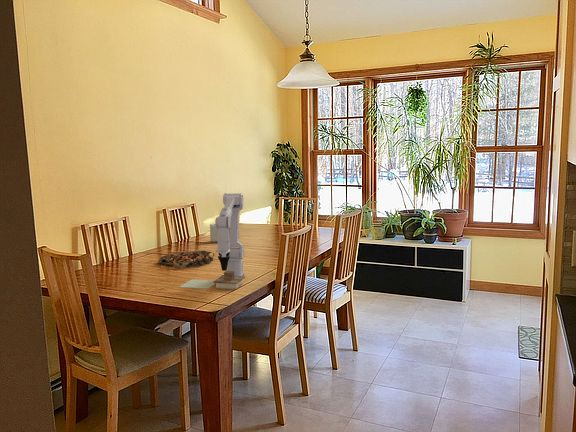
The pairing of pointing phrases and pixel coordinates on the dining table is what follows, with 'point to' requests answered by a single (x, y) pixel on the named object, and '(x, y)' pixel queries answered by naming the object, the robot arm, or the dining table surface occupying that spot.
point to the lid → (229, 278)
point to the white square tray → (228, 285)
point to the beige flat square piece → (198, 284)
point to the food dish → (187, 259)
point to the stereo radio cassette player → (215, 233)
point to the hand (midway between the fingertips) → (224, 268)
